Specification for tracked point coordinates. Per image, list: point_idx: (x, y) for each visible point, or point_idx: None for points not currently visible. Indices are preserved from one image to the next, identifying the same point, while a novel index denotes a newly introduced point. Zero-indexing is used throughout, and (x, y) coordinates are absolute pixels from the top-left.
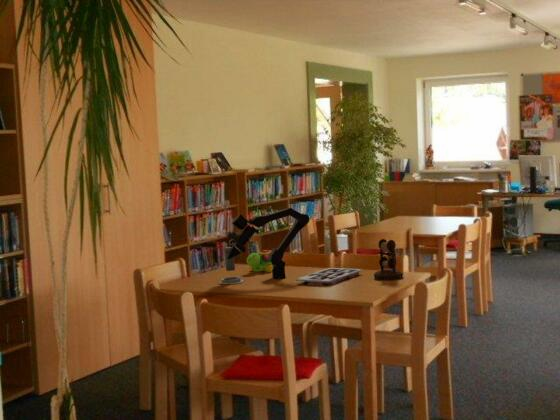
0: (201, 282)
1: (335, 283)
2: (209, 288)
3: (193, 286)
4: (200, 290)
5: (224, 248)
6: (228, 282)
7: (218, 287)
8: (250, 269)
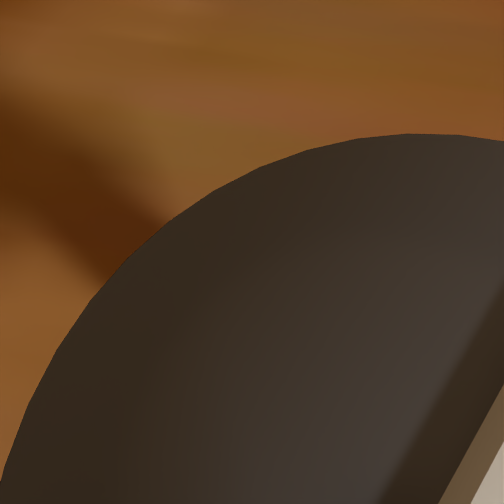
0: (458, 99)
1: None
2: (86, 109)
3: (282, 7)
4: (42, 26)
5: (319, 148)
6: None
7: (81, 190)
8: None
